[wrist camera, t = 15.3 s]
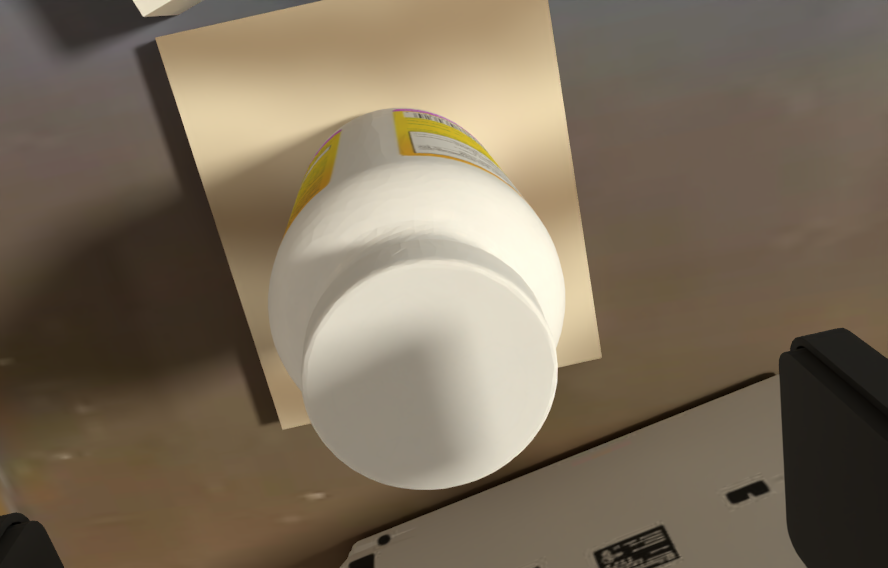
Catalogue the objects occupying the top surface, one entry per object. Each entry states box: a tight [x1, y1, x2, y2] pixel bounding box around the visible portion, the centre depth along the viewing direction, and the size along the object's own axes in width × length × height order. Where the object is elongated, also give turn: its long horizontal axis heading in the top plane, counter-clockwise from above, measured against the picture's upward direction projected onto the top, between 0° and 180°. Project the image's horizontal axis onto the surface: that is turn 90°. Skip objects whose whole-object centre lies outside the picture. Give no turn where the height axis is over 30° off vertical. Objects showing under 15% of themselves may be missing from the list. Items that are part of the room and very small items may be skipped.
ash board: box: [155, 0, 602, 429], centre depth 26 cm, size 14×12×1 cm
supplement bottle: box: [268, 108, 565, 490], centre depth 20 cm, size 7×7×13 cm
